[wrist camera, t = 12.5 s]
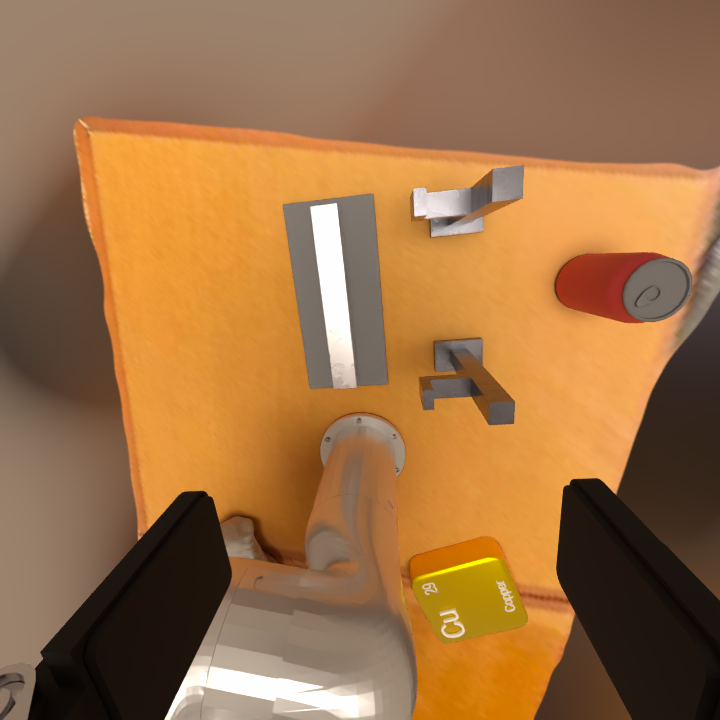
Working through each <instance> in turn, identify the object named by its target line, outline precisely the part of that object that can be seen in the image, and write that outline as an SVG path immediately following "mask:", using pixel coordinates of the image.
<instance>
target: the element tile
mask: <svg viewBox="0 0 720 720" xmlns="http://www.w3.org/2000/svg"><path fill="white" fill-rule="evenodd" d="M409 567H410V580H411V588H412V590H413V592H414V594H415V596H416V598H417V600H418V602H419V604H420V606H421V608H422V610H423V612H424V614H425V616H426V618H427V619H428V621H429V623H430V625H431V627H432V629H433V631H434V633H435V635H436V637H437V638H438V639H439V640H440V641H442V642H444V643H452V642H457V641H461V640H466V639H471V638H475V637H480V636H484V635H489V634H493V633H498V632H503V631H507V630H512V629H516V628H520V627H522V626H524V625H525V624H526V623H527V621H528V615H527V612H526V610H525V607H524V605H523V602H522V600H521V597H520V595H519V592H518V590H517V587H516V585H515V582H514V580H513V577H512V575H511V572H510V570H509V568H508V565H507V563H506V560H505V558H504V555H503V553H502V550H501V548H500V545H499V544H498V542H497V541H496V540H495V539H494V538H491V537H480V538H476V539H473V540H469V541H466V542H462V543H458V544H455V545H451V546H447V547H444V548H440V549H437V550H433V551H429V552H426V553H422V554H418V555H416V556H414V557H413V558H411V560H410V564H409Z"/></svg>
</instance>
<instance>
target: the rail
mask: <svg viewBox="0 0 720 720" xmlns="http://www.w3.org/2000/svg"><path fill="white" fill-rule="evenodd" d="M310 209H311V216H312V224H313V232H314V240H315V247H316V255H317V263H318V271H319V278H320V286H321V294H322V301H323V309H324V317H325V325H326V332H327V340H328V348H329V355H330V363H331V371H332V379H333V386H334V389H344V388H357V384H358V370H357V361H356V351H355V342H354V333H353V323H352V314H351V304H350V295H349V286H348V276H347V267H346V257H345V248H344V238H343V229H342V220H341V210H340V207H339V206H338V205H337V203H336V204H328V205H320V206H312V207H310Z"/></svg>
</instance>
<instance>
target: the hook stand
mask: <svg viewBox="0 0 720 720" xmlns="http://www.w3.org/2000/svg"><path fill="white" fill-rule="evenodd" d="M523 177H524V165H522V166H514V167H506V168H498V169H492V170H491V171H490V172H489V173H488V174H486V175H485V176H484V177H483V178H482V179H481V180H480V181H478V182H477V183H476V184H475V185H474V186H473V187H471V188H465V189H457V190H448V191H440V192H431V193H426V187H425V188H417V189H413V191H412V194H411V197H410V204H411V222H412V221H421V220H430V237H439V236H448V235H458V234H467V233H477V232H483V229H484V216H485V215H487V214H489V213H491V212H494V211H496V210H498V209H500V208H502V207H505V206H507V205H509V204H511V203H513V202H515V201H518V200H520V199H522V198H523ZM482 351H483V339H482V338H468V339H455V340H441V341H434V356H435V371H436V372H443V371H456V372H457V374H458V375H442V376H426V377H419V389H420V398H421V402H422V406H423V410H434V399H438V398H455V397H472V398H473V400H474V402H475V403H476V405H477V407H478V408H479V410H480V411H481V413H482V415H483V416H484V418H485V419H486V421H487V423H488V424H489V425H501V424H514V412H515V401H514V400H513V399H512V398H511V397H510V396H509V394H508V393H507V392H506V391H505V390H504V389H503V388H502V387H501V386H500V384H499V383H498V382H497V381H496V380H495V379H494V378H493V377H492V376H491V374H490V373H489V372H488V371H487V370H486V369H485V368H484V367H483V366H482Z"/></svg>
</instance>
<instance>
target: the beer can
mask: <svg viewBox="0 0 720 720" xmlns="http://www.w3.org/2000/svg"><path fill="white" fill-rule="evenodd" d="M556 290H557V295H558V297H559V299H560V301H561V302H562V303H563V304H564V305H566V306H567V307H569V308H572V309H575V310H579V311H582V312H586V313H590V314H594V315H597V316H601V317H605V318H609V319H613V320H616V321H620V322H624V323H644V322H656V321H660V320H664V319H666V318H668V317H670V316H672V315H674V314H675V313H676V312H677V311H678V310H680V309H681V308H682V307H683V306H684V304H685V303H686V301H687V300H688V298H689V296H690V293H691V290H692V275H691V273H690V271H689V269H688V267H686V266H685V265H684V264H683V263H682V262H681V261H678V260H675V259H673V258H669V257H666V256H664V255H661V254H658V253H647V252H641V253H607V254H585V255H582V256H578V257H576V258H574V259H573V260H571V261H569V262H568V263H567V264H566V265H565V266H564V268H563V269H562V270H561V272H560V274H559V276H558V278H557V283H556Z"/></svg>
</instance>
